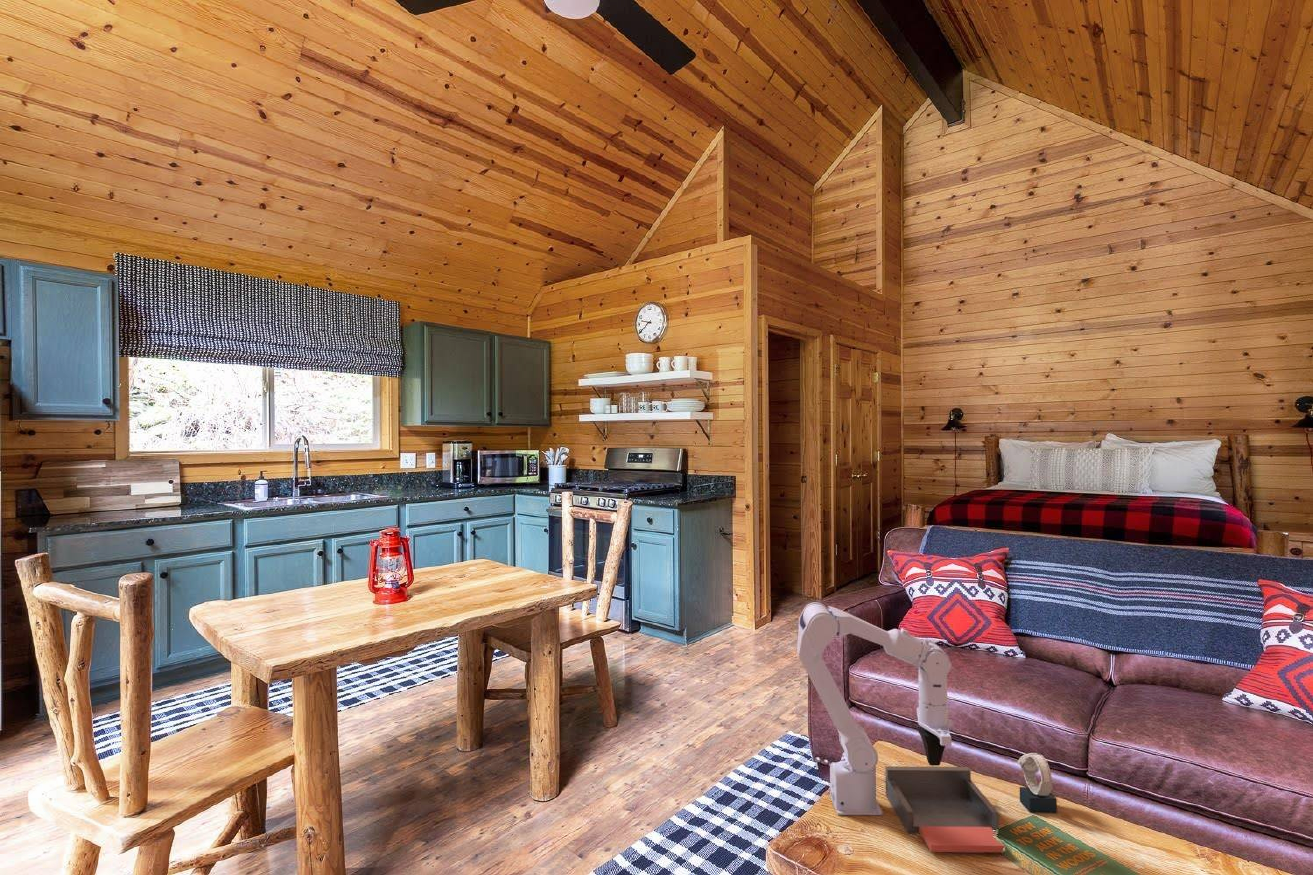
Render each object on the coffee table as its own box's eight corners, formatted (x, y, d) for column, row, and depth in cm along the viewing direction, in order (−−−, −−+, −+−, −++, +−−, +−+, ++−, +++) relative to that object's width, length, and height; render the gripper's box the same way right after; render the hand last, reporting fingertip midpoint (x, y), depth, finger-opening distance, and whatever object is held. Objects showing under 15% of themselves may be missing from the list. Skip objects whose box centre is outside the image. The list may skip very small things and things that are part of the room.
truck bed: (907, 833, 130) (907, 801, 130) (885, 795, 144) (885, 766, 144) (998, 834, 129) (998, 802, 130) (967, 796, 144) (967, 766, 144)
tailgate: (919, 834, 129) (930, 853, 123) (919, 826, 129) (930, 845, 123) (990, 835, 129) (1005, 854, 123) (990, 826, 129) (1005, 845, 123)
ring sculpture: (1041, 796, 143) (1040, 747, 143) (1061, 818, 135) (1060, 765, 135) (1014, 796, 143) (1014, 746, 143) (1033, 817, 135) (1032, 764, 135)
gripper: (966, 715, 132) (967, 781, 132) (938, 687, 147) (939, 747, 147) (931, 714, 132) (932, 781, 132) (907, 687, 147) (908, 747, 147)
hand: (933, 763), depth 139 cm, fingers closed
